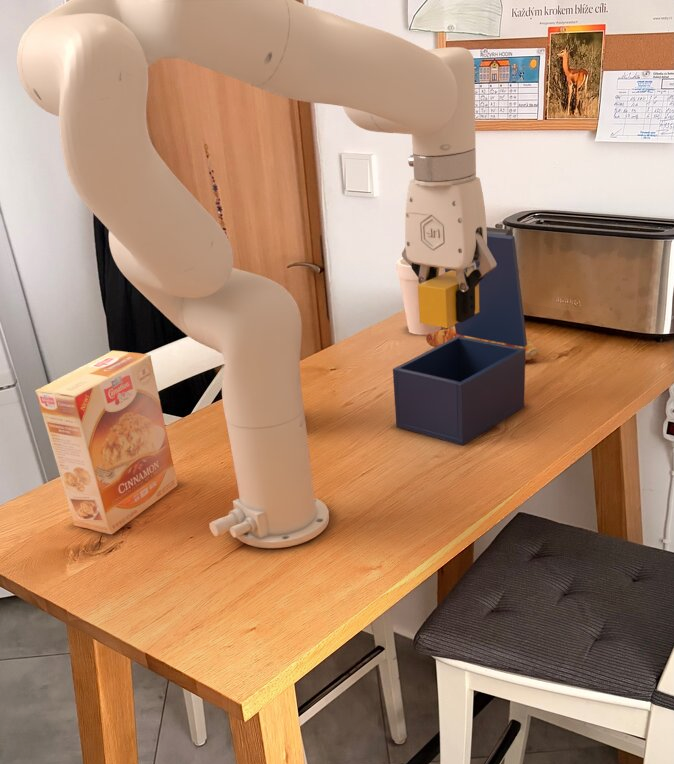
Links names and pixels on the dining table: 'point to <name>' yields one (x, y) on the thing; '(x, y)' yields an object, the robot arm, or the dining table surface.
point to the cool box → (459, 389)
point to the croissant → (447, 335)
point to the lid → (498, 296)
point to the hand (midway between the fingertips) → (449, 314)
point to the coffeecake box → (109, 439)
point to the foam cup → (413, 298)
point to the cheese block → (441, 300)
